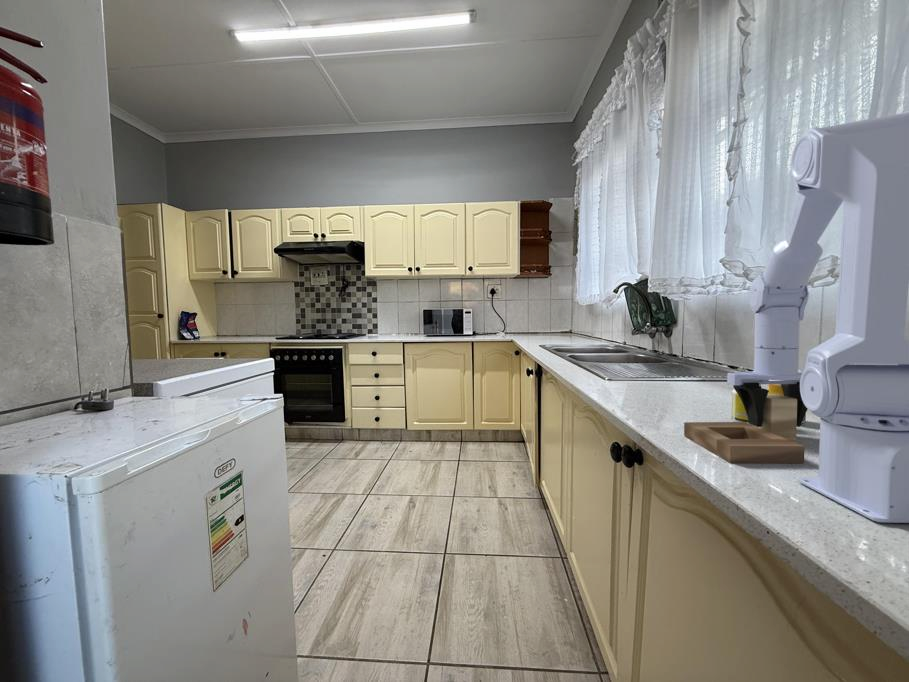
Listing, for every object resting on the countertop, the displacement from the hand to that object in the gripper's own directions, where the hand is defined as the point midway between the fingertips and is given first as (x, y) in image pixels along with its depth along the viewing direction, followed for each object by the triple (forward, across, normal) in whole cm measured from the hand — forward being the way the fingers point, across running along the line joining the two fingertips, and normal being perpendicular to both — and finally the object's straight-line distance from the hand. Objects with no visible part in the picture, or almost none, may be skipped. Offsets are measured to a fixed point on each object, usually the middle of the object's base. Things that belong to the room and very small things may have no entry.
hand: (774, 425), depth 62 cm
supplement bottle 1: (+2, -1, -8) cm, 8 cm away
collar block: (+2, +10, +6) cm, 12 cm away
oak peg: (+2, 0, 0) cm, 2 cm away
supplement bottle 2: (+2, -9, -9) cm, 13 cm away
